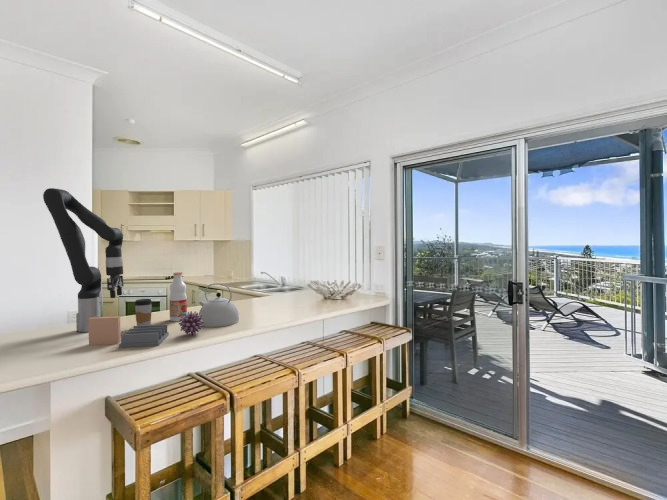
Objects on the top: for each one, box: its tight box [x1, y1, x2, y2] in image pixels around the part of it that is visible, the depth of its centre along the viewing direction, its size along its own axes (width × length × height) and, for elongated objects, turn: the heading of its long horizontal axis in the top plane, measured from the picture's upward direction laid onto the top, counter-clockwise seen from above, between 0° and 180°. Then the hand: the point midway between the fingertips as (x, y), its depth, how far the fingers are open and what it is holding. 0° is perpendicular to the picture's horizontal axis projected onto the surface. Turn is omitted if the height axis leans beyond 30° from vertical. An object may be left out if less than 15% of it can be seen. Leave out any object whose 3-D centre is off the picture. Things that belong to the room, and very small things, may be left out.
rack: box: [118, 324, 170, 349], centre depth 159 cm, size 16×17×6 cm
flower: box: [178, 310, 204, 336], centre depth 170 cm, size 12×12×12 cm
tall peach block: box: [88, 315, 122, 346], centre depth 155 cm, size 12×2×12 cm, turn 102°
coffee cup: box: [134, 298, 153, 326], centre depth 183 cm, size 8×8×15 cm
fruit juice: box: [169, 271, 188, 322], centre depth 202 cm, size 9×9×28 cm
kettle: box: [198, 282, 240, 328], centre depth 197 cm, size 25×23×22 cm
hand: (116, 296), depth 178 cm, fingers open, 8 cm apart
